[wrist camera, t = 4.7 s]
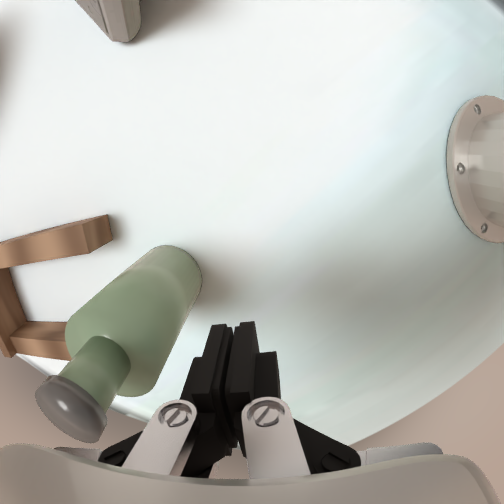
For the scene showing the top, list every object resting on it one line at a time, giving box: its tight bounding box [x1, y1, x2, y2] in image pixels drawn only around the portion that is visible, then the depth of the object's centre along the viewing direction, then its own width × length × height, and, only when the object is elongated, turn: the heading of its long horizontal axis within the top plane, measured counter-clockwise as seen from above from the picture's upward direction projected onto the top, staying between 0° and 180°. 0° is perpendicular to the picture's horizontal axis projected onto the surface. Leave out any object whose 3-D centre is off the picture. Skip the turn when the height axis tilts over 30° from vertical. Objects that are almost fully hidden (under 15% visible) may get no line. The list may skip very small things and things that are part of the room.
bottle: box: [35, 245, 202, 443], centre depth 14 cm, size 5×5×14 cm
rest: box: [0, 215, 113, 361], centre depth 20 cm, size 16×11×4 cm, turn 98°
